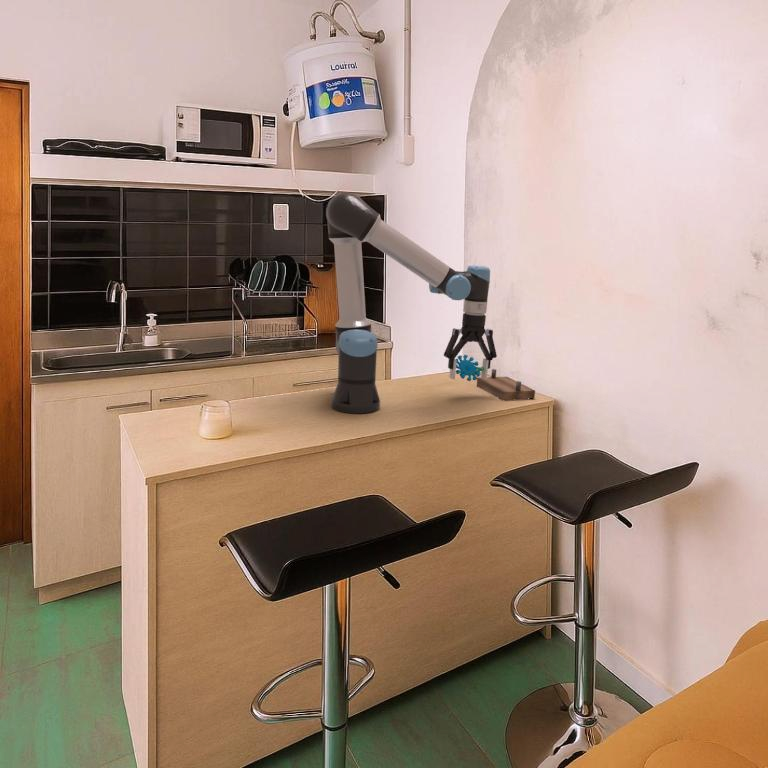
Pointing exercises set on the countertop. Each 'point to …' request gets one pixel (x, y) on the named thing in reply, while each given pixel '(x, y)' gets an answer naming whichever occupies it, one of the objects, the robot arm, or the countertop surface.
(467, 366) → the blue spiky virus toy
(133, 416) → the countertop surface
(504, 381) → the stand
